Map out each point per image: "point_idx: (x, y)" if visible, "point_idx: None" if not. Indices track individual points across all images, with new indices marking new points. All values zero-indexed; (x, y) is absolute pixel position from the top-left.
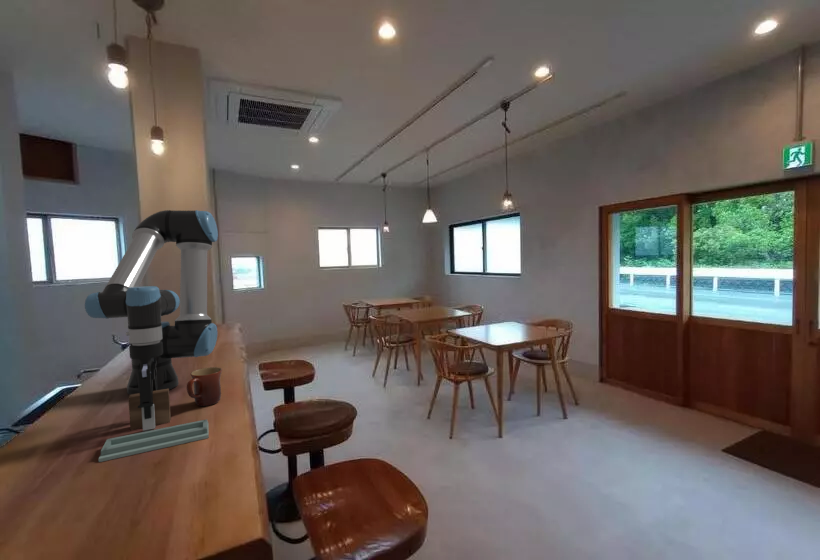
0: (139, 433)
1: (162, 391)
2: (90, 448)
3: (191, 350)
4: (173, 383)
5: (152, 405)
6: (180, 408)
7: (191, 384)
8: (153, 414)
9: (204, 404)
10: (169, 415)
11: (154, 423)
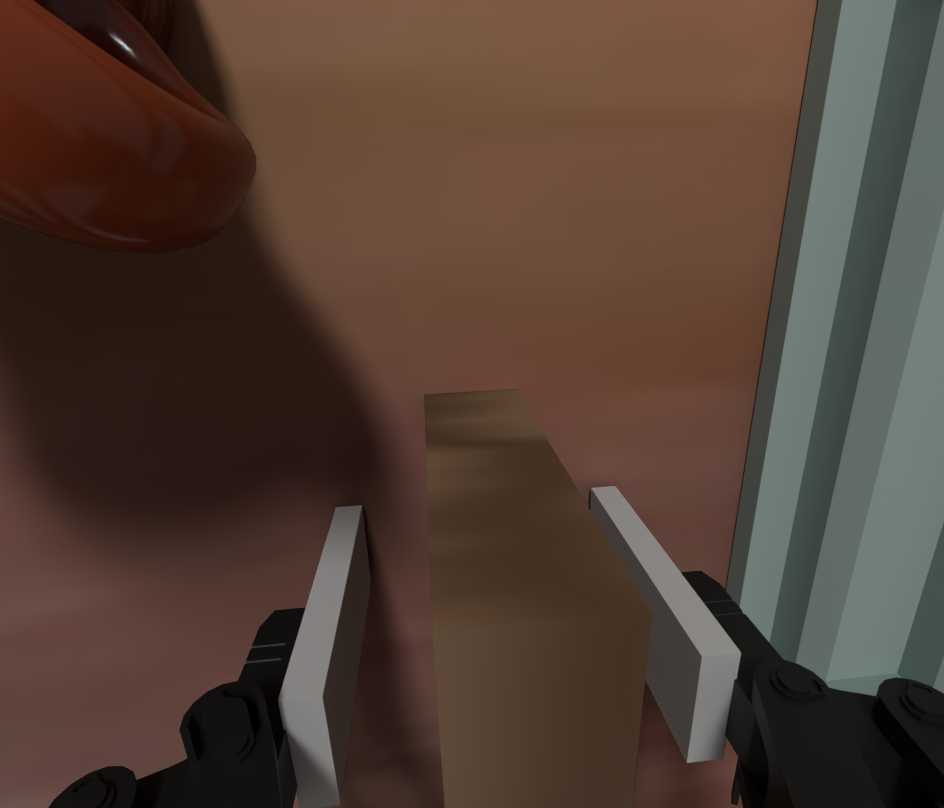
0: (832, 577)
1: (589, 707)
2: (694, 763)
3: None
4: None
5: (795, 664)
6: (128, 336)
7: (164, 97)
8: (672, 571)
9: (168, 17)
10: (530, 414)
11: (631, 511)
